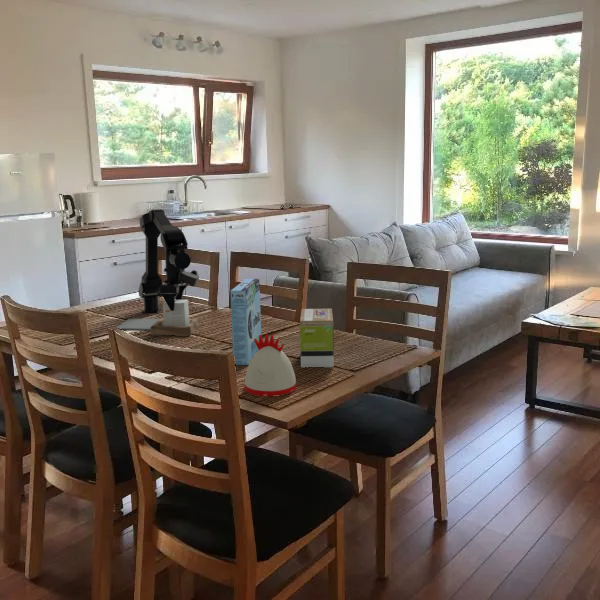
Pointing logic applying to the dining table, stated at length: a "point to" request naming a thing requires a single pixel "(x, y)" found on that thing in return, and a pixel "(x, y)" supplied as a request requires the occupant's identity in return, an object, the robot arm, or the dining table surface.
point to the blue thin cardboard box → (245, 320)
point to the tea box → (316, 338)
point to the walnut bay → (174, 328)
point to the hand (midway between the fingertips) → (175, 307)
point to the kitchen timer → (269, 370)
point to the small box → (176, 314)
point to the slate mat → (138, 324)
